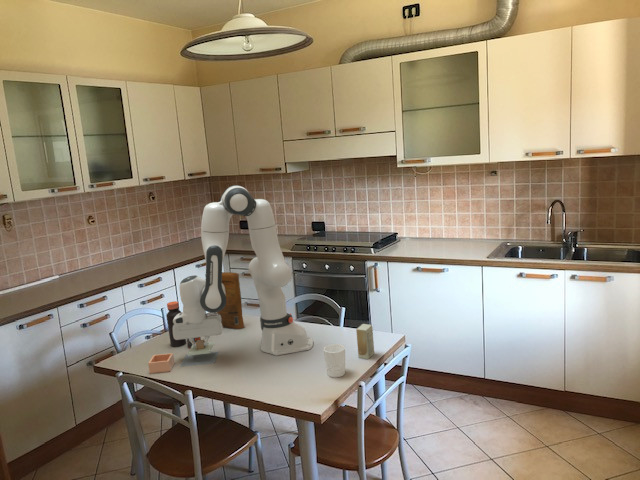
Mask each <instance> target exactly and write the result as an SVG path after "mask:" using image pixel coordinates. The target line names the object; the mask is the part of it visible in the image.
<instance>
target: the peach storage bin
mask: <svg viewBox="0 0 640 480" xmlns="http://www.w3.org/2000/svg"><path fill="white" fill-rule="evenodd" d="M175 364H176V362H175V355H174V353H173V352H172V353H171V352H170V353H160V354H153V355H152V357H151V358H150V360H149V361H148V364H147V365H148V370H149V371H148V372H149V375H151V374H160V373H171V372H172V369H173V368H174V365H175Z"/></svg>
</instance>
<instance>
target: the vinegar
mask: <svg viewBox="0 0 640 480" xmlns="http://www.w3.org/2000/svg"><path fill="white" fill-rule="evenodd" d="M179 305H180V303H179V302H178V300H177V301H174V300H173V301H170V302H168V303H166V307H167V310H168V312H167V313H166V315H165V316H166V321H167V323H166V324H167V328H168V336H169V344H170V347H171V348H181V347H184V346H185V345H187V339H180V340H175V339H174V337H173V325H174V323H173V319H174V317H175V316H176V315H177V314H179V313H181V312H182V311H181V310H179V308H180V306H179Z"/></svg>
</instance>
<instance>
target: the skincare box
mask: <svg viewBox="0 0 640 480" xmlns="http://www.w3.org/2000/svg"><path fill="white" fill-rule="evenodd" d="M355 330H356V341H357V342H356V343H357V354H358V358H359V359H365V360H369V359H370V358H371V357H372V356H373V355H374V354H375V345H374V343H375V342H374V331H373V330H374V329H373V324H367V323H362V324H360V325H359V326H358V327H357V328H356V329H355Z"/></svg>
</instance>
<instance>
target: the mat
mask: <svg viewBox="0 0 640 480" xmlns="http://www.w3.org/2000/svg"><path fill="white" fill-rule="evenodd" d="M219 353H220V352H219V350H218V351H211V352H210V353H207V354H198V355H190V356H188V353H187V354H185V356H184V358H183V360H182V362H181V363H180V365H179V367H180V368H181V367H189V366H199V365H201V366H202V365H212V364H215V363H216V361H217V358H218V356H219Z"/></svg>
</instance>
